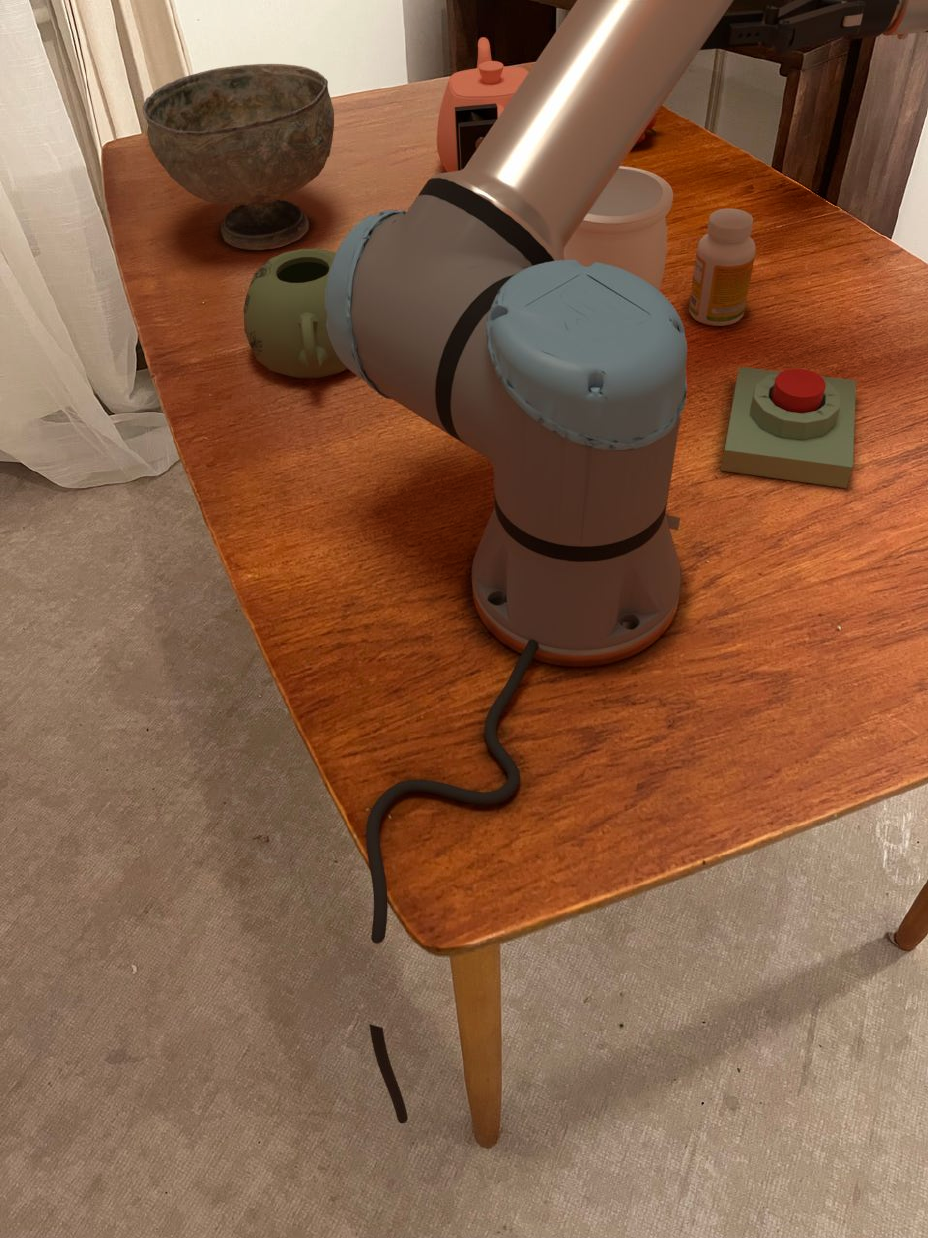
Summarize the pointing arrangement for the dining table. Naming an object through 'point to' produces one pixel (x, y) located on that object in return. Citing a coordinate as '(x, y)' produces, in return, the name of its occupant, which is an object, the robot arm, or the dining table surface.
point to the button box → (790, 432)
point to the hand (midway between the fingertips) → (671, 9)
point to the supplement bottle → (723, 268)
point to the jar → (626, 226)
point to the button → (798, 390)
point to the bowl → (245, 144)
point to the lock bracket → (472, 130)
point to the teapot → (474, 97)
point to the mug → (292, 315)
